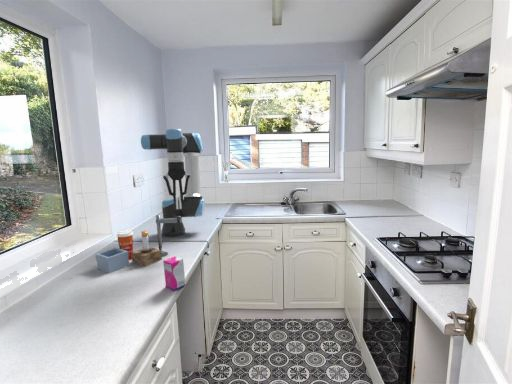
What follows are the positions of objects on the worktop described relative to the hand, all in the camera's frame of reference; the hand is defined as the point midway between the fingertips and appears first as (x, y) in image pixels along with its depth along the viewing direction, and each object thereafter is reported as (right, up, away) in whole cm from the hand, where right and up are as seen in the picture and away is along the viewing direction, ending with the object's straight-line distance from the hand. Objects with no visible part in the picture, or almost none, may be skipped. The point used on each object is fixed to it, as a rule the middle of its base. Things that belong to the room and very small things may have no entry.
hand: (179, 208), depth 148 cm
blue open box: (-30, -27, -7) cm, 41 cm away
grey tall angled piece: (-6, -23, +6) cm, 25 cm away
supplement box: (+6, -30, -28) cm, 42 cm away
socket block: (-16, -26, 0) cm, 31 cm away
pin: (-16, -26, 0) cm, 31 cm away
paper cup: (-27, -26, +3) cm, 38 cm away
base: (-11, -25, +7) cm, 28 cm away
